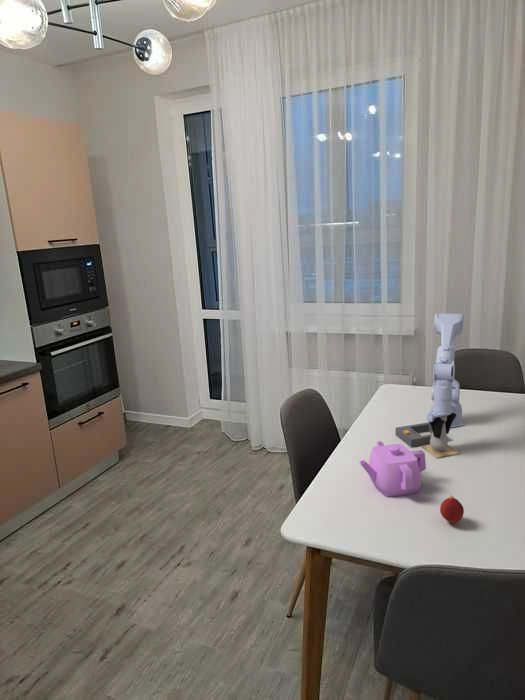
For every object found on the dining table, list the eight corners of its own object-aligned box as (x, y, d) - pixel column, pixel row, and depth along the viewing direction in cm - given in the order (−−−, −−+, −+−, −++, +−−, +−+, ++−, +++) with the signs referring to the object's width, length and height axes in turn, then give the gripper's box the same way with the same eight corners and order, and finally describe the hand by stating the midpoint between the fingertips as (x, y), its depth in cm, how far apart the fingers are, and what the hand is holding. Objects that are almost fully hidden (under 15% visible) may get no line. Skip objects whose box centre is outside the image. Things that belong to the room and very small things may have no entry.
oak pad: (444, 443, 175) (444, 441, 174) (459, 454, 166) (460, 452, 166) (421, 447, 173) (421, 445, 172) (436, 458, 164) (436, 457, 164)
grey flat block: (428, 429, 186) (429, 420, 185) (446, 441, 176) (446, 432, 175) (395, 435, 183) (395, 426, 182) (411, 447, 173) (411, 438, 172)
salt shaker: (425, 447, 171) (427, 413, 167) (437, 443, 173) (439, 409, 170) (439, 454, 166) (441, 418, 162) (450, 449, 168) (453, 414, 165)
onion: (463, 518, 132) (465, 492, 130) (462, 531, 127) (463, 503, 125) (440, 514, 134) (441, 488, 132) (438, 526, 129) (439, 499, 127)
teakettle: (411, 505, 139) (413, 465, 136) (356, 489, 149) (356, 452, 145) (429, 478, 153) (431, 442, 149) (377, 465, 162) (378, 431, 159)
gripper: (444, 389, 172) (443, 425, 175) (419, 400, 163) (418, 437, 167) (463, 394, 166) (461, 431, 170) (438, 405, 158) (436, 444, 161)
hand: (441, 435), depth 168 cm, fingers open, 4 cm apart
